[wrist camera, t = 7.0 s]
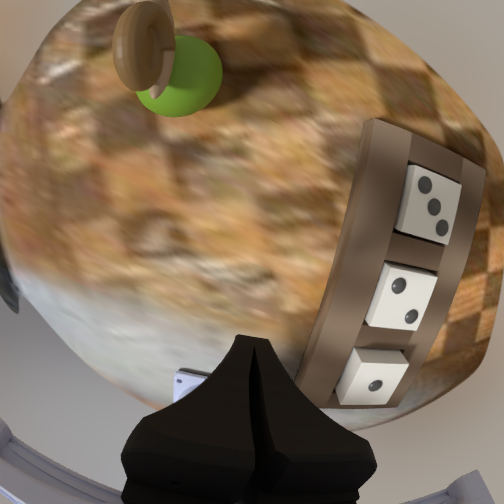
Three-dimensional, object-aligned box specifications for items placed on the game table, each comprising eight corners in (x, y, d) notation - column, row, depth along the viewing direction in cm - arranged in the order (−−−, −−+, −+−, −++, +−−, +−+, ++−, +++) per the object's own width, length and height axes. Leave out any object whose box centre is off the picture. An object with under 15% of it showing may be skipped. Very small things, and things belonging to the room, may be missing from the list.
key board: (390, 394, 24) (396, 407, 22) (290, 391, 23) (292, 406, 21) (471, 169, 17) (486, 170, 15) (363, 122, 17) (374, 117, 15)
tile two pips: (403, 316, 21) (417, 331, 18) (359, 310, 21) (369, 326, 18) (421, 266, 20) (438, 277, 17) (376, 256, 19) (391, 267, 17)
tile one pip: (377, 386, 22) (386, 404, 19) (334, 385, 22) (340, 405, 19) (397, 347, 21) (409, 364, 18) (352, 343, 20) (361, 363, 18)
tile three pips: (430, 237, 19) (448, 245, 16) (385, 224, 19) (401, 231, 16) (442, 182, 18) (462, 185, 15) (398, 165, 18) (416, 165, 15)
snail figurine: (229, 41, 16) (199, -74, 4) (225, 121, 17) (176, 49, 6) (156, 48, 16) (72, -36, 4) (150, 126, 17) (32, 88, 6)
